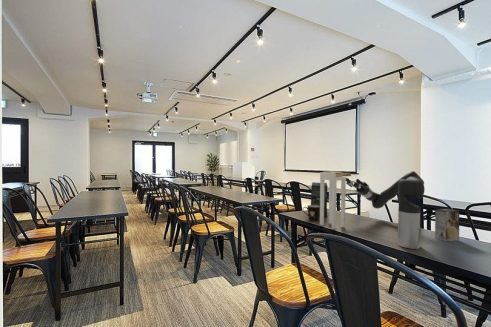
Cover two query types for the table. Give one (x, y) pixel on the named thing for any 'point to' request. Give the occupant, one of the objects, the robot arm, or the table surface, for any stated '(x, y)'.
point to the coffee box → (447, 224)
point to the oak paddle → (340, 174)
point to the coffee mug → (313, 212)
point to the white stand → (332, 198)
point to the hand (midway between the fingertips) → (351, 179)
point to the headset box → (318, 196)
